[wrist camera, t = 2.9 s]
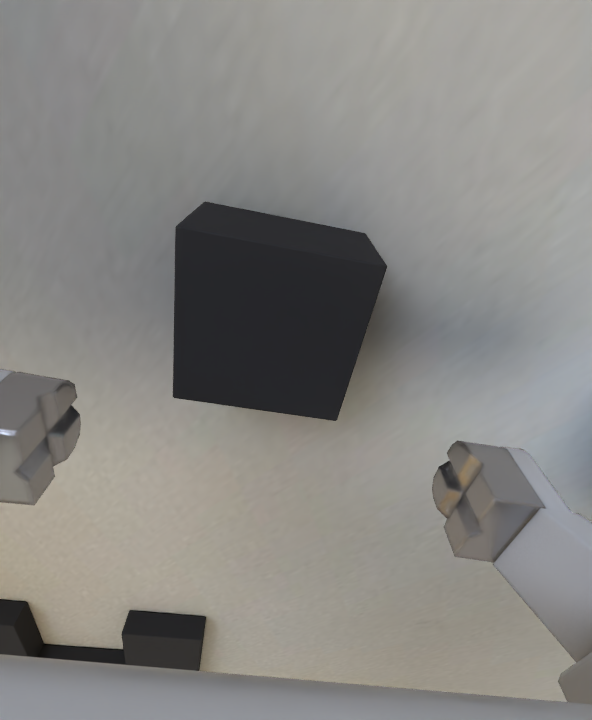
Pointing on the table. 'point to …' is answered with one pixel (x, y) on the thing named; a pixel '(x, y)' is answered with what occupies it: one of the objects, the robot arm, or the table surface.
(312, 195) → the table surface
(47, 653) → the black u-shaped block
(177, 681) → the robot arm
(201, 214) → the black cube
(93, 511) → the table surface
